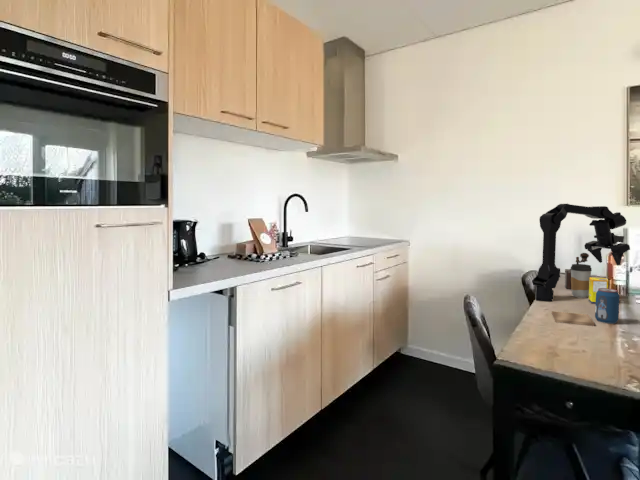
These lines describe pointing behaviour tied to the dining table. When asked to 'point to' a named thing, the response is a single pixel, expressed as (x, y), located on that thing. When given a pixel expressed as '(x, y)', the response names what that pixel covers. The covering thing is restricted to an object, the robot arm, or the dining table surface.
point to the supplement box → (596, 287)
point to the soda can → (607, 305)
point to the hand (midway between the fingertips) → (609, 263)
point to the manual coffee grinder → (568, 271)
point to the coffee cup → (580, 280)
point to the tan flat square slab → (572, 318)
